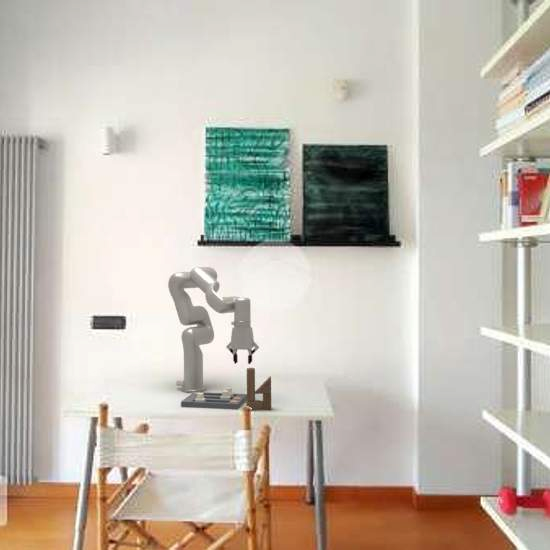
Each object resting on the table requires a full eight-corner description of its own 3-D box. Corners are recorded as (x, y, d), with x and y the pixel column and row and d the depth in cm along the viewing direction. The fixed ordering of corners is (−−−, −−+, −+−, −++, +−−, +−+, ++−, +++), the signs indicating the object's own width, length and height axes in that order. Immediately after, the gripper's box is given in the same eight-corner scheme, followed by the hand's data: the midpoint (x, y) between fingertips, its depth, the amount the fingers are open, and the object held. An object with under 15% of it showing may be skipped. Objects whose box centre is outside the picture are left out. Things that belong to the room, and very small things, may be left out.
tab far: (223, 398, 259) (223, 388, 259) (225, 396, 262) (225, 387, 262) (232, 398, 259) (232, 389, 258) (234, 397, 262) (233, 387, 262)
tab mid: (220, 401, 253) (220, 391, 253) (222, 399, 256) (222, 390, 256) (228, 402, 253) (228, 392, 252) (230, 400, 256) (230, 390, 256)
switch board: (181, 406, 249) (180, 400, 249) (194, 397, 267) (194, 391, 267) (237, 409, 244) (237, 403, 244) (247, 399, 262) (247, 393, 262)
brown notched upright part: (271, 410, 243) (271, 368, 243) (246, 410, 242) (246, 369, 242) (270, 407, 247) (270, 367, 246) (246, 408, 246) (246, 367, 246)
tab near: (194, 404, 249) (194, 394, 249) (197, 402, 252) (197, 392, 252) (203, 404, 249) (203, 394, 248) (205, 402, 252) (205, 392, 252)
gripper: (222, 325, 256) (222, 364, 257) (259, 325, 253) (259, 365, 254) (226, 323, 264) (226, 361, 264) (262, 323, 260) (262, 362, 261)
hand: (242, 362), depth 259 cm, fingers open, 5 cm apart
